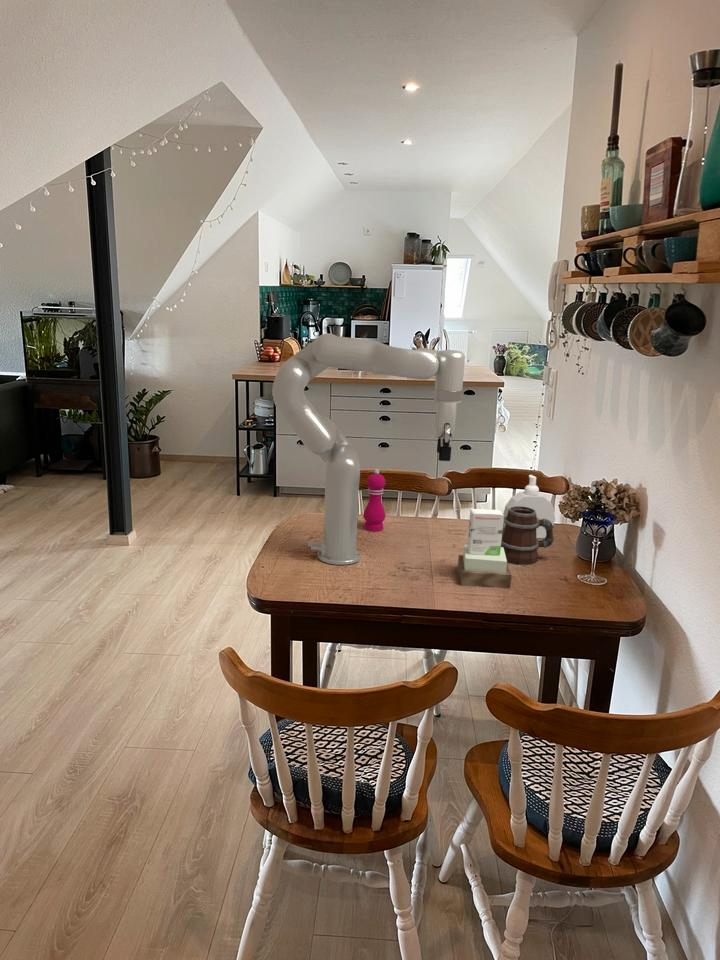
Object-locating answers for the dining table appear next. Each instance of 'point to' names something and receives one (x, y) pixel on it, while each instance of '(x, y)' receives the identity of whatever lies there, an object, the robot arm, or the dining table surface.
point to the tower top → (485, 562)
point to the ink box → (485, 532)
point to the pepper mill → (374, 503)
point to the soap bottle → (533, 505)
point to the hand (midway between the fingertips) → (443, 456)
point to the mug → (524, 535)
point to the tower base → (483, 577)
